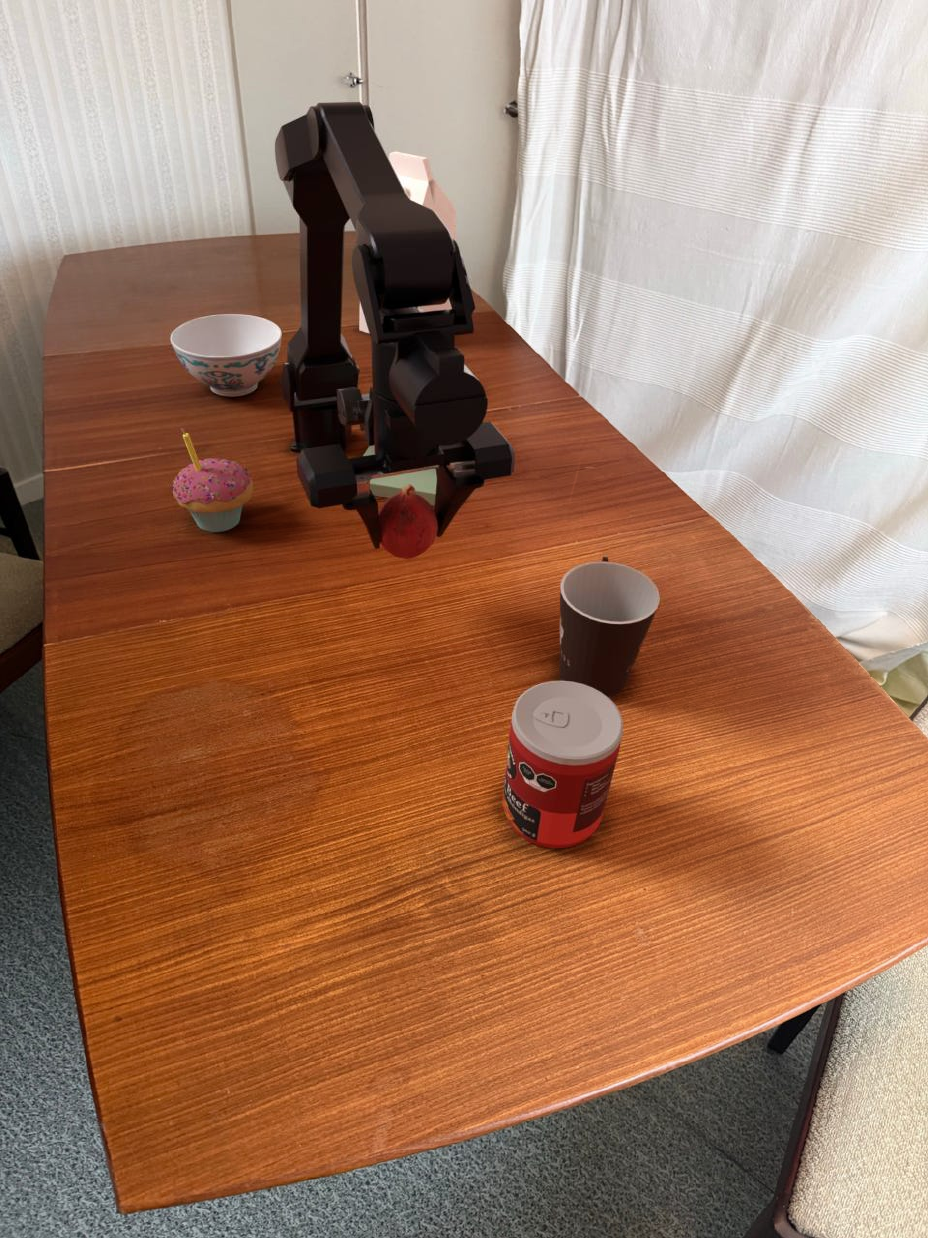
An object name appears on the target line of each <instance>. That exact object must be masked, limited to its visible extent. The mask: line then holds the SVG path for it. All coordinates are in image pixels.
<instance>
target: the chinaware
mask: <svg viewBox="0 0 928 1238" xmlns="http://www.w3.org/2000/svg"><path fill="white" fill-rule="evenodd" d="M282 337H283V335H282V330H281V328H280V327H279V326H278V324H276V323H275V322H273V321H271V320H269V319H267V318H263V317H260V316H256V315H250V314H240V313H239V314H238V313H224V314H222V313H221V314H214V315H213V314H212V315H207V316H202V317H197V318H194V319H190V320H188V321H186V322H184V323H182V324H180V325H179V326H177V327H176V328H175V329H174V330H173V331H172V332H171V334H170V343H171V345H172V348H173V350H174V353H175V355H176V357H177V358H178V361H180V363H181V364H182V366H183V367H184V368H185V370H186V371H187V372H188V373H189V374H190V375H191V376H192V377H193V378H195V379H196V380H197V381H199V382H201V383H202V384H204V385H206V386H208V387H209V388H210V390H211V392H213V393H214V394H216V395H218V396H222V397H241V396H245V395H248V394H251V393H253V392H254V391H255V390H256V389H258V386H259V382H261V381H263V380H264V379H265V378H266V377H267V376H268V375H269V373H271V371H272V370H273V368H274V366H275V364H276V363H277V360H278V358H279V354H280V351H281V345H282Z"/></svg>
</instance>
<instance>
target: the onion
mask: <svg viewBox="0 0 928 1238" xmlns="http://www.w3.org/2000/svg"><path fill="white" fill-rule="evenodd" d="M414 491H415V488H414V487H413V486H411V485H409V484H408V485H406V486H403V488H402V490H401V492H400V493H399V494H396V495H394V496H392V497H391V498H387V500H386V501H384V503H383V504H382V506H381V508H380V509H379V510H378V512H379V525H380V537H381V540H380V545H381V546H382V548H384V550H385V551H386V552H387V553H389V554H390V555H392V556H394V557H396V558H398V559H403V560H410V559H415V558H416V557H419V556H421V555H422V554H425V552H426V551H428V550H429V549H430V548H431V546H432V545H433V544H434V543H435V540H436V538H437V536H436V535H437V530H438V523H437V518H436V514H435V511H434V507H433V505H431V504H430V503H429V502H428V501H426V500H425V499H424V498H423V497H421V496H420V495H418V494H415V493H414Z"/></svg>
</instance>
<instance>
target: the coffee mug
mask: <svg viewBox="0 0 928 1238" xmlns="http://www.w3.org/2000/svg"><path fill="white" fill-rule="evenodd" d="M559 584H560V585H559V676H560V678H561V681H570V682H576V683H580V684H584V685H587V686H589V687H592V688H594V689H596V690H598V691H600V692H601V693H603V694H604V695H605V696H607V697H608V698H610V697H613V696H615V695H617V694H619V693H620V692H621V691H623V690H624V688H625V687H626V685H627V682H628V680H629V678H630V675H631V673H632V670H633V668H634V665H635V663H636V661H637V658H638V656H639V654H640V651H641V648H642V646H643V645H644V644H643V643H644V642H645V639H646V636H647V634H648V631H649V629H650V628H651V624H652V622H653V621H654V617H655V615H656V613H657V610H658V607H659V605H660V602H661V595H660V591H659V589H658V587H657V585H656V583H655V582H653V580H652V579H651V578H650V577H649V576H647V575H646V574H645V573H643V572H642V571H640V570H638V569H636V568H634V567H631V566H629V565H626V564H622V563H619V562H613V561H609V557H608V556H602V559H601V561H600V560H599V561H589V562H585V563H581V564H579V565H575V566H574V567H572V568H570V569H569V570H568V571H567V572H565V573H564V575H563V576H562V578H561V580H560V583H559Z"/></svg>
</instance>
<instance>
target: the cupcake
mask: <svg viewBox="0 0 928 1238" xmlns="http://www.w3.org/2000/svg"><path fill="white" fill-rule="evenodd" d="M180 430H181V432H182V439H183V441H184V443H185V446H186V449H187V451H188V454H189V456H190V459H191V461H192V462H191V463H188V464H187V466H185V467H184V468H182V469H180V471H179V472H177V473H178V474H176V476H175V478H174V479H173V480H172V484H173V485H172V488H171V491H172V493H173V498H174V499H175V501H176V502H177V503H178V505H179V506H180V507H181V508H183V509H187V511H188V512H189V513H190V515H191V516H192V518H193V519H194V522H195V523H196V525H197V526H198V527H199V528H200V529H201V530H203V531H205V532H210V533H221V532H222V533H223V532H226V531H229V530H232V529H233V528H235V527H236V526H237V525H238V524H239V523H240V520H241V515H242V510H243V506H244V504H246V503H248V502H249V501H250V500H251V498H252V495H253V493H254V489H255V488H254V482H253V480H252V477H251V476H250V474H249V473H248V469H247V468H244V467H243V466H241V464H238V463H237V462H236V461H234V460H228V459H226V458H212V457H211V458H210V457H207V458H205V459H201V460H200V459H199V457H198V455H197V452H196V450H195V447H194V444H193V442H192V439H191V437H190V434H189V432H188V433H187V432H185V429H184V428H183V427H181V428H180Z"/></svg>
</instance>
